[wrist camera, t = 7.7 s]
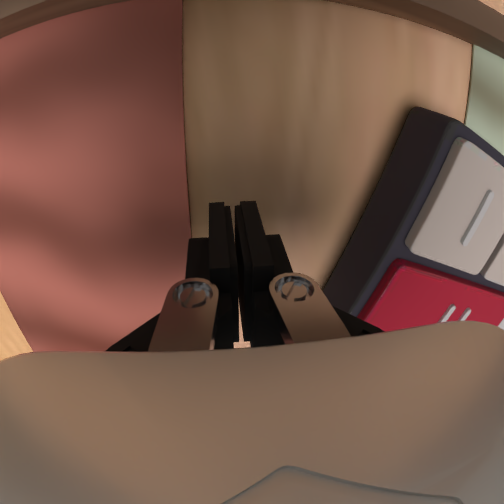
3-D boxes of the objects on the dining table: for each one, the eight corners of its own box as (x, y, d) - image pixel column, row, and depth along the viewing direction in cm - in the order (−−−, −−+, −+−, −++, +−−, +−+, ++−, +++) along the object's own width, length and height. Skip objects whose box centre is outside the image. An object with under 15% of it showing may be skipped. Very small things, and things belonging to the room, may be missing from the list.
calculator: (465, 120, 8) (587, 240, 11) (405, 99, 12) (548, 208, 15) (329, 359, 13) (499, 366, 17) (310, 297, 17) (473, 327, 20)
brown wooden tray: (-55, 44, 6) (-97, 52, 4) (576, 89, 10) (607, 102, 8) (47, 371, 18) (36, 406, 15) (497, 326, 22) (513, 349, 19)
